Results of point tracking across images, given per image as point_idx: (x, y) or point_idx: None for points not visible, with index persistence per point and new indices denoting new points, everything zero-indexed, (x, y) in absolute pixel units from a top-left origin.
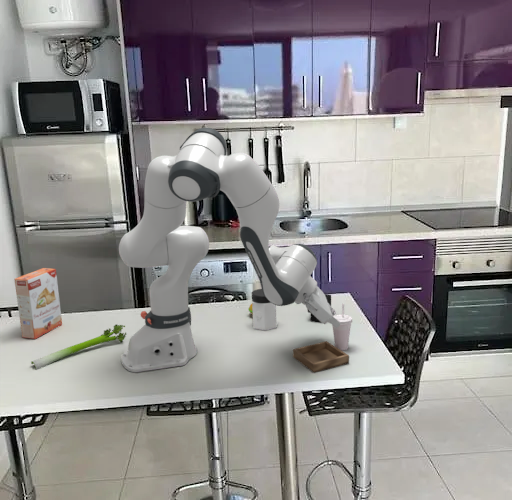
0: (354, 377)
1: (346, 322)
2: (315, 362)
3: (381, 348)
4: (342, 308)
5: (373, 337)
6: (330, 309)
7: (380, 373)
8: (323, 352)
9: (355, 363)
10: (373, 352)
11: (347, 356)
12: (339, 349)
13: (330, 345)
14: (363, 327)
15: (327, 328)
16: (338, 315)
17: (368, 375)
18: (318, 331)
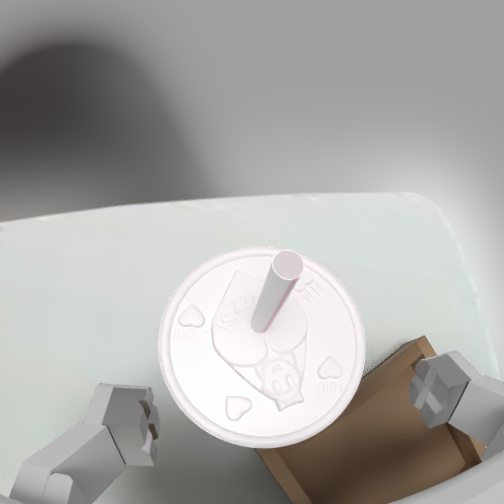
0: (483, 324)
1: (347, 305)
2: (421, 476)
3: (249, 198)
4: (282, 302)
5: (132, 210)
6: (113, 443)
7: (446, 242)
8: (325, 461)
9: (399, 317)
10: (291, 234)
11: (425, 342)
12: (371, 381)
13: (322, 431)
14: (29, 234)
15: (8, 394)
16: (184, 365)
17: (465, 279)
18: (36, 447)
